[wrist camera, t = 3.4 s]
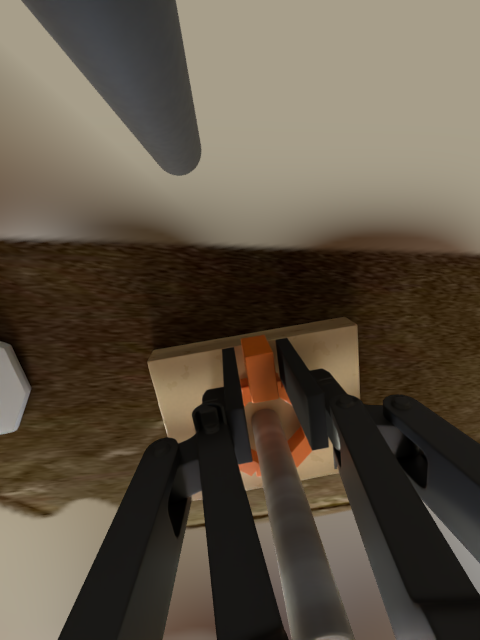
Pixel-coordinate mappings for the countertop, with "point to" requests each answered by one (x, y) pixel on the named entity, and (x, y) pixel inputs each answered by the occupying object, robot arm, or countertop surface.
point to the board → (208, 374)
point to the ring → (266, 395)
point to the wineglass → (11, 390)
